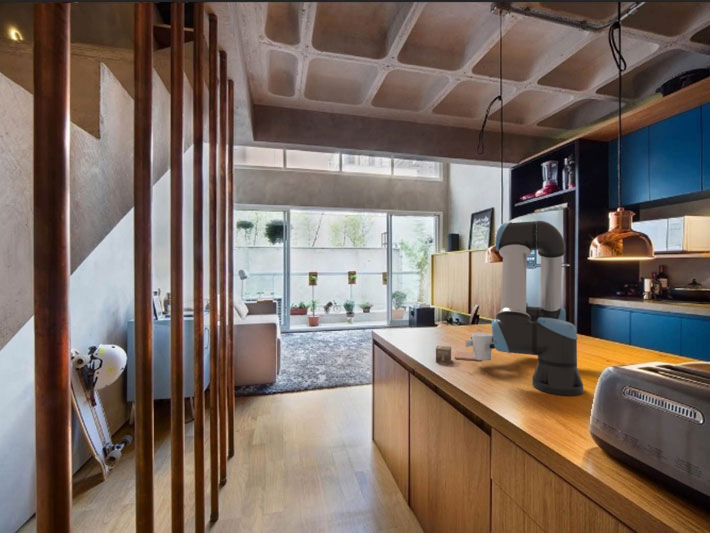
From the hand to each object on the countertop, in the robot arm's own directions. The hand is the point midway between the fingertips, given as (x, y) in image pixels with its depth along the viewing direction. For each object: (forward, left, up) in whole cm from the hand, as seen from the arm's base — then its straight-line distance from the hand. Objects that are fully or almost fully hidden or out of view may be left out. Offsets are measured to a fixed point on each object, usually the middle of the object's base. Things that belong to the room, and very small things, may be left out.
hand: (474, 345), depth 140 cm
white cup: (+4, -3, -6) cm, 8 cm away
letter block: (+9, +13, -10) cm, 19 cm away
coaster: (+19, +3, -10) cm, 21 cm away
